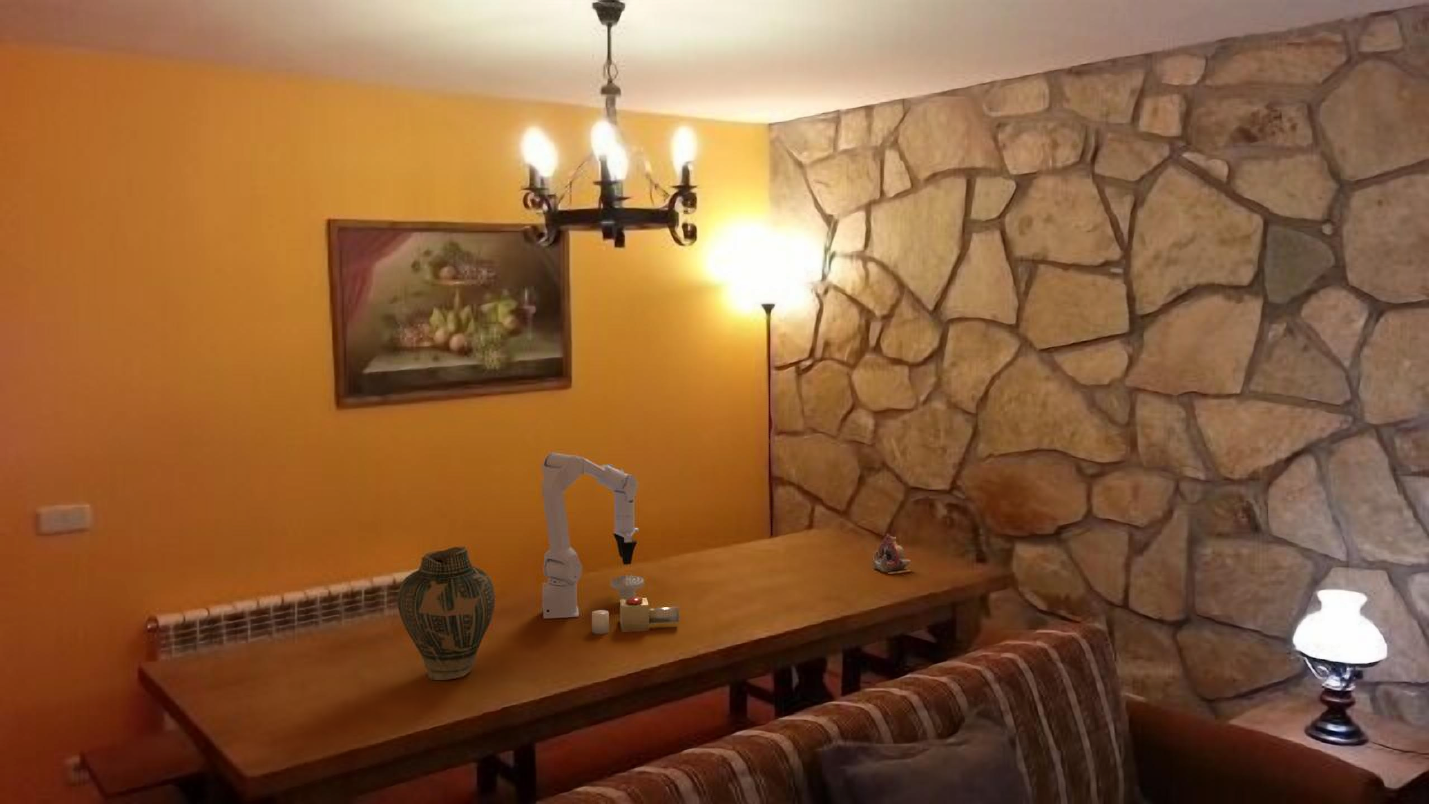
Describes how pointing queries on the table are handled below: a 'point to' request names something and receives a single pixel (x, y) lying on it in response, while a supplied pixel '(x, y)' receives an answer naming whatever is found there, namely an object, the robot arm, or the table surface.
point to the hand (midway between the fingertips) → (625, 560)
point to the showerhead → (627, 585)
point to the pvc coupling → (600, 621)
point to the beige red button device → (643, 614)
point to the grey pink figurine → (890, 557)
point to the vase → (447, 611)
